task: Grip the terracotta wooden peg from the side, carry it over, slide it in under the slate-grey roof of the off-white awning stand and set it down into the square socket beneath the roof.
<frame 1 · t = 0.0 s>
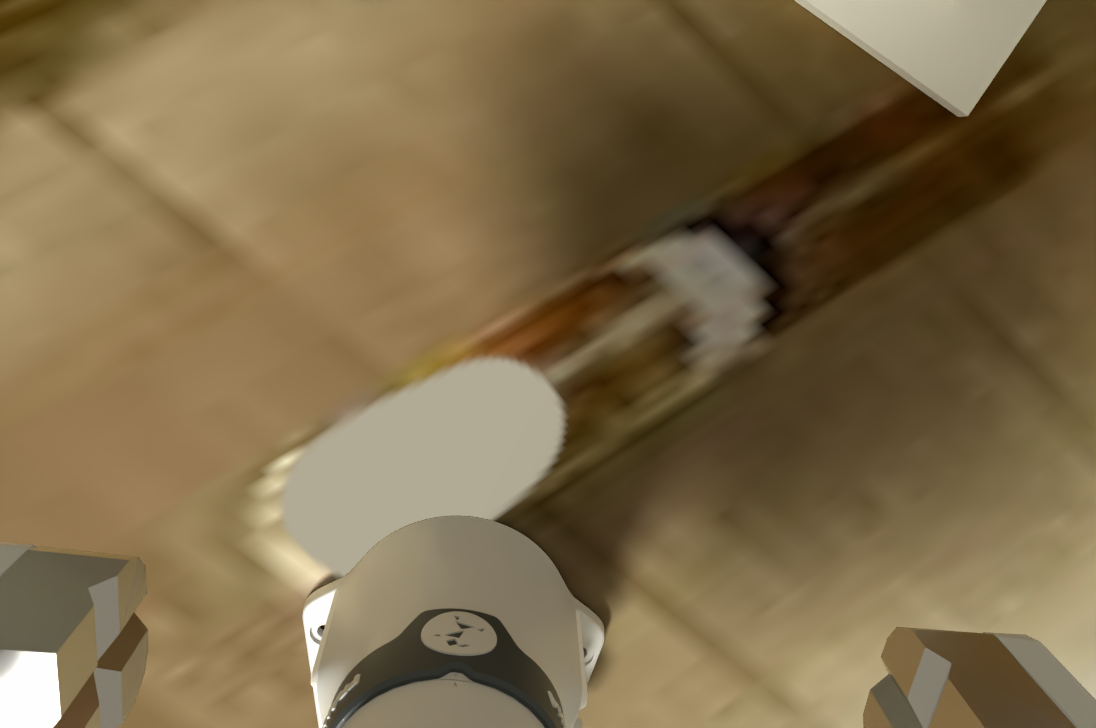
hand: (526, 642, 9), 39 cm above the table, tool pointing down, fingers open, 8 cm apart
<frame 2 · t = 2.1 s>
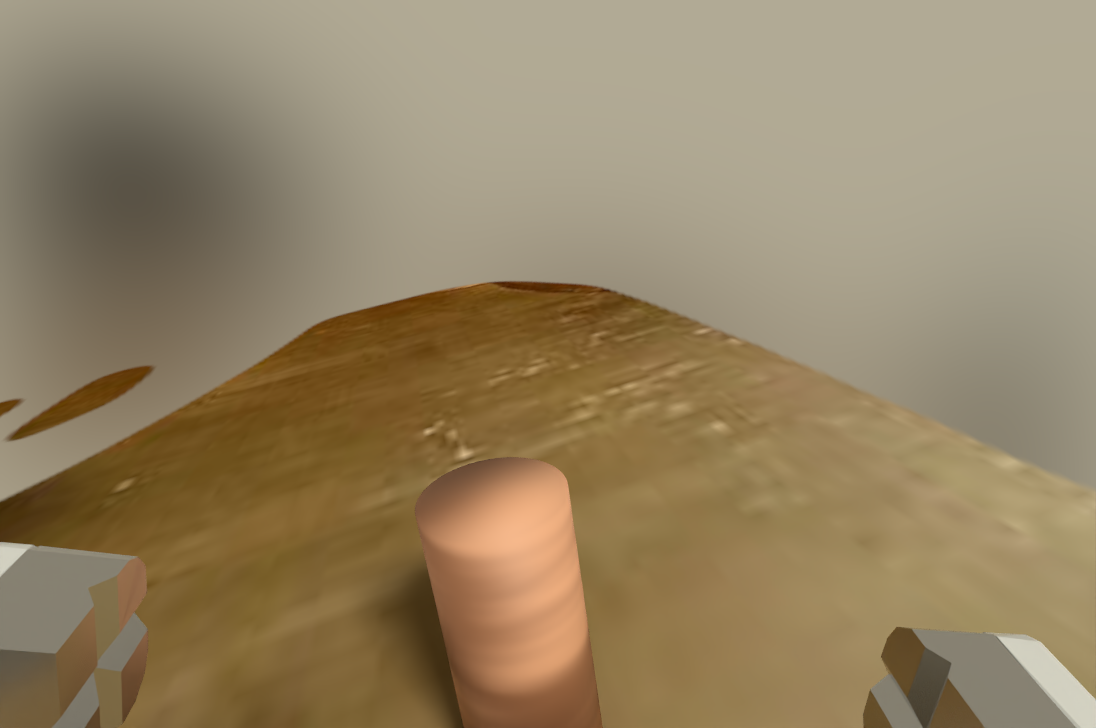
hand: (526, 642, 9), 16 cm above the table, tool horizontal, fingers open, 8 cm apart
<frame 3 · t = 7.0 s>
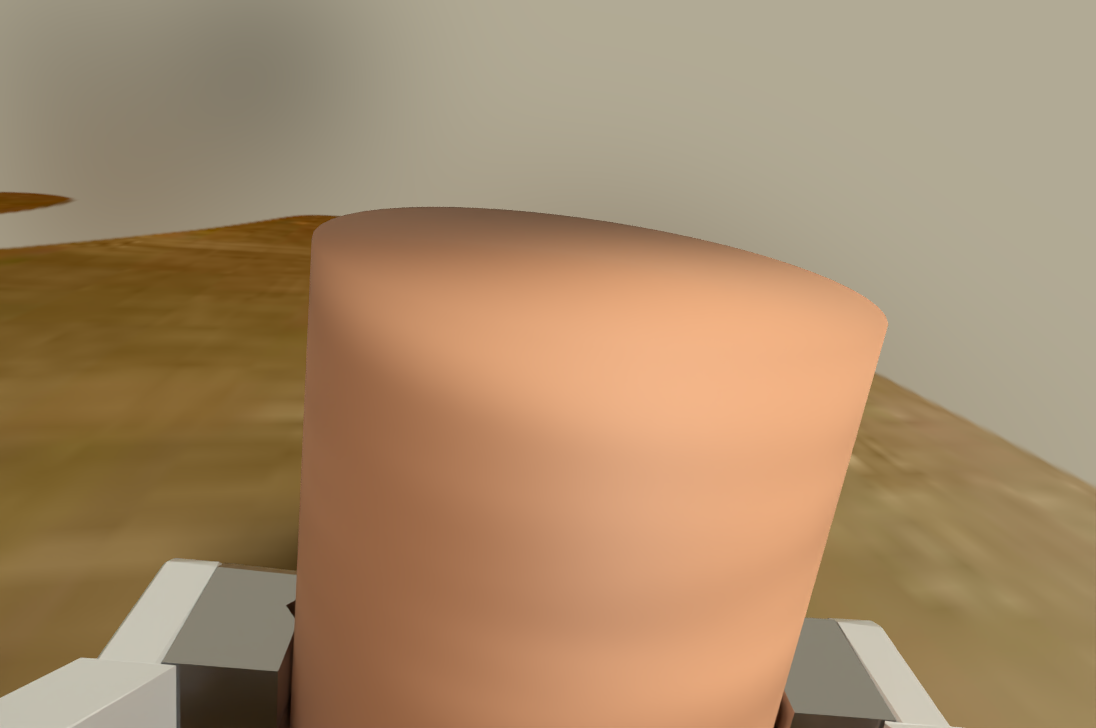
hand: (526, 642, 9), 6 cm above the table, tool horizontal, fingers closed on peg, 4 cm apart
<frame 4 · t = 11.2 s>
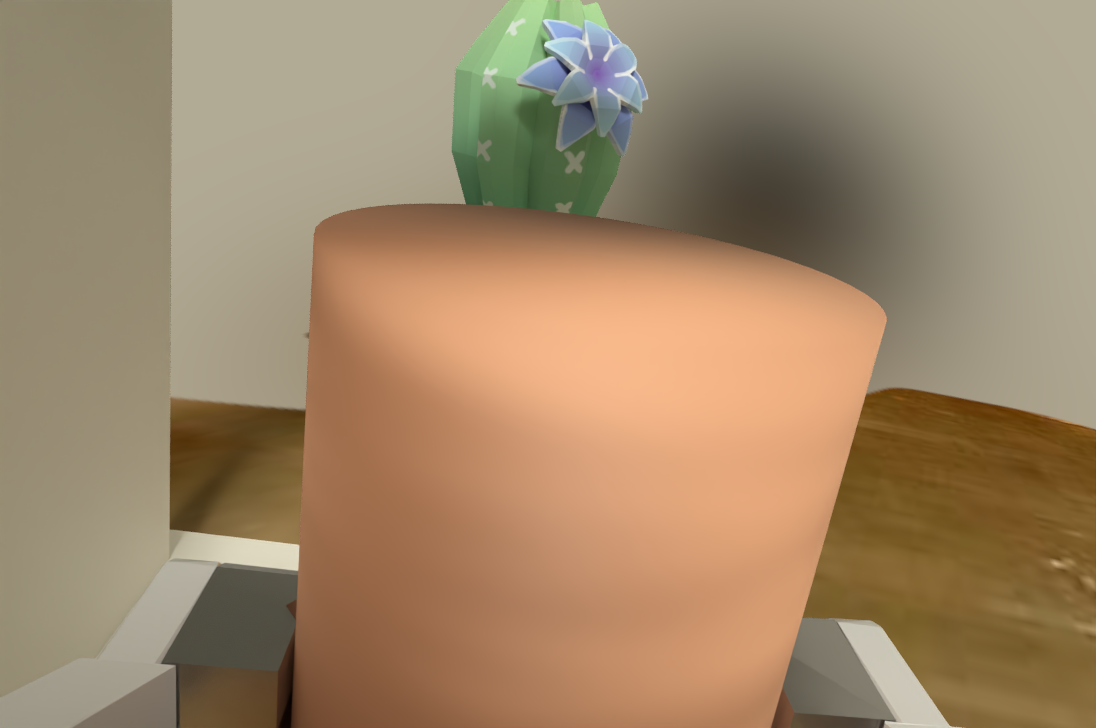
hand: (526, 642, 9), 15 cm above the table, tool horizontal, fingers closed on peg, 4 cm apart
potted cactus: (497, 445, 50), on the table
when the fingers open (8 cm above the table, at t = 15.4 s): peg drops 1 cm, resting on awning socket.
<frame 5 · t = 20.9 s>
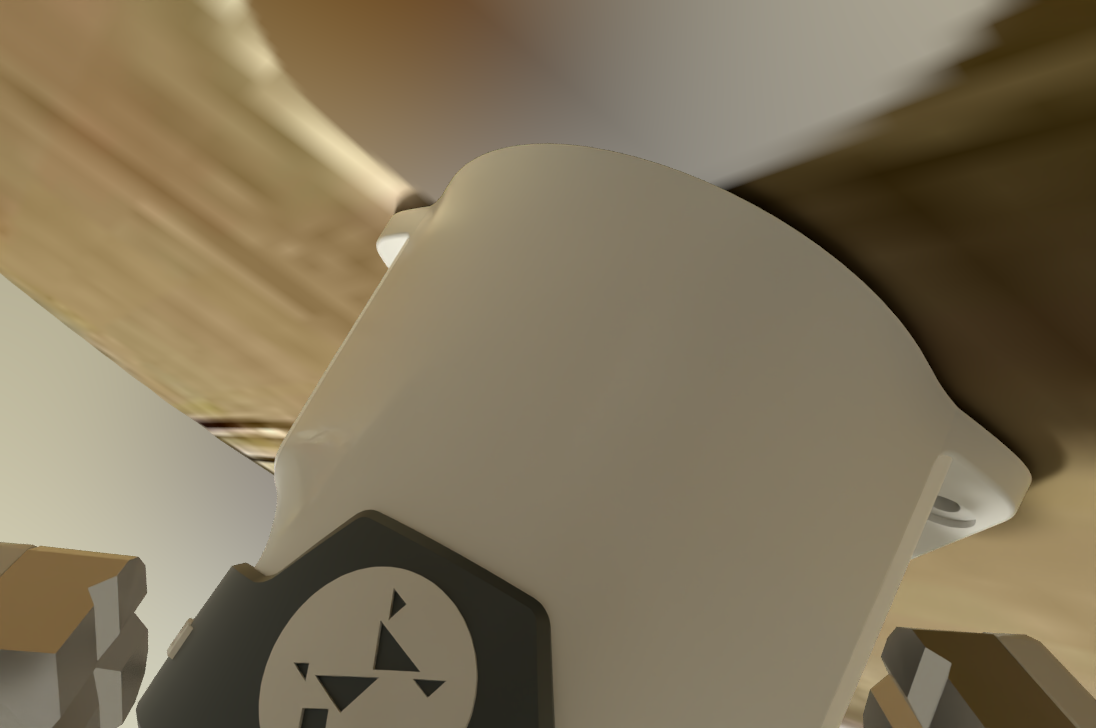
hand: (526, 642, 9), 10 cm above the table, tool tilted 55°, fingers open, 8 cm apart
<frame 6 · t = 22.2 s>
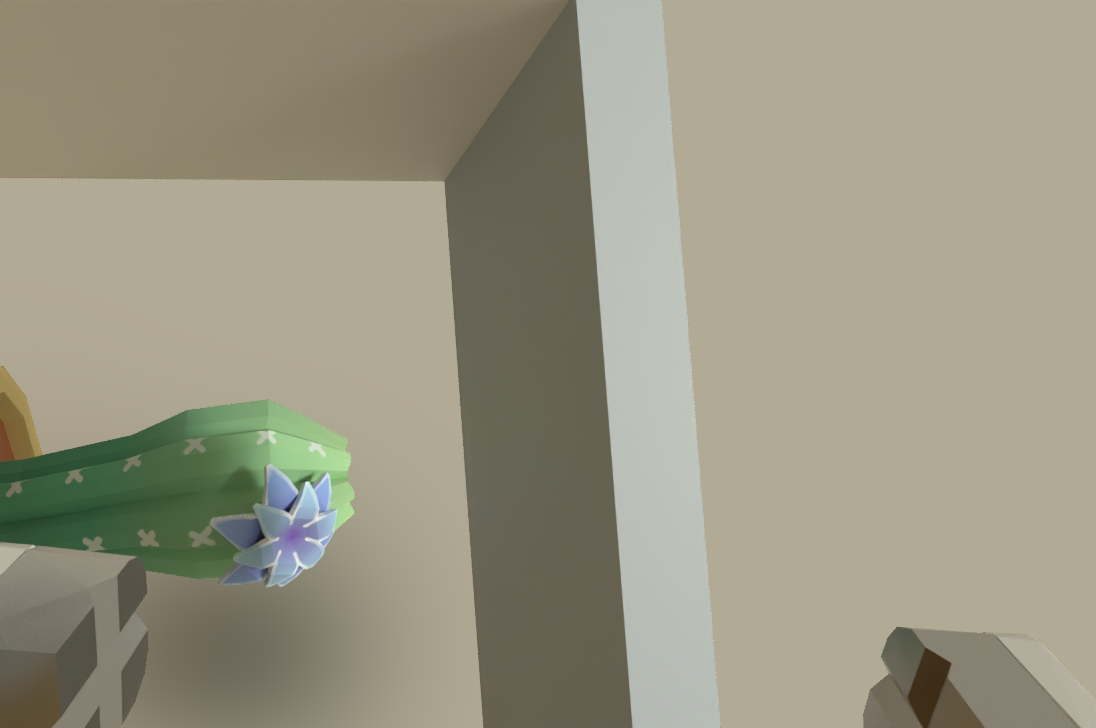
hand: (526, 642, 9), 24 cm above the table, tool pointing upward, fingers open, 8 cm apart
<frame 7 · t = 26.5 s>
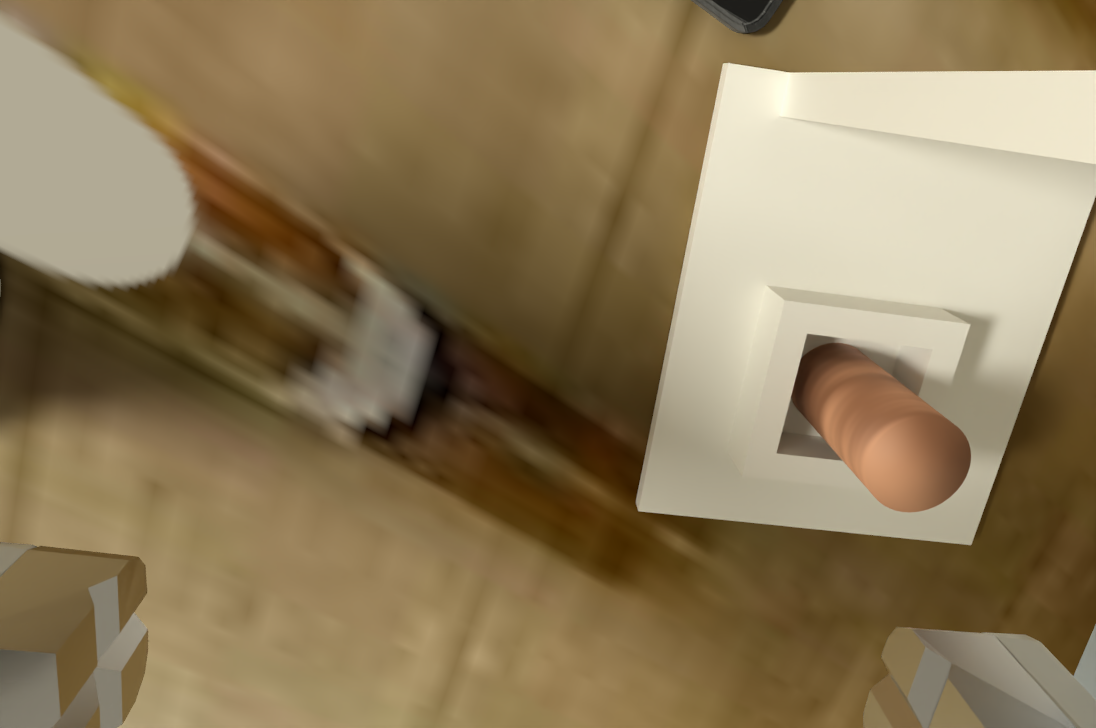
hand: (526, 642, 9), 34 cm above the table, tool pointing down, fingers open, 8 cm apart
peg: (830, 382, 44), point 1 cm above the table, touching awning socket
awning socket: (824, 375, 45), on the table
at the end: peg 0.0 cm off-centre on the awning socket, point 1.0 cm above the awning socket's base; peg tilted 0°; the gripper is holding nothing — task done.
